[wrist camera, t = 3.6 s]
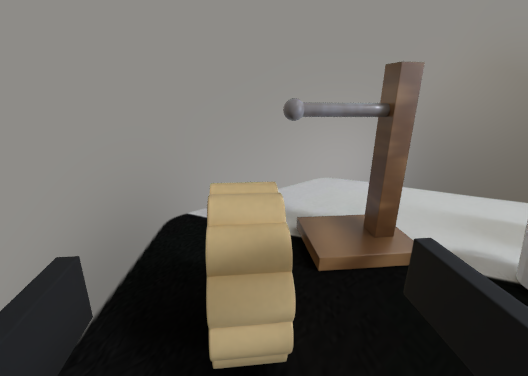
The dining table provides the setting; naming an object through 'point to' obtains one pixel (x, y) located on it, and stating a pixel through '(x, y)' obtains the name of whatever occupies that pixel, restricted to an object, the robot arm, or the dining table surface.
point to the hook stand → (381, 179)
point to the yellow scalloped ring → (248, 275)
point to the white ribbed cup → (523, 262)
